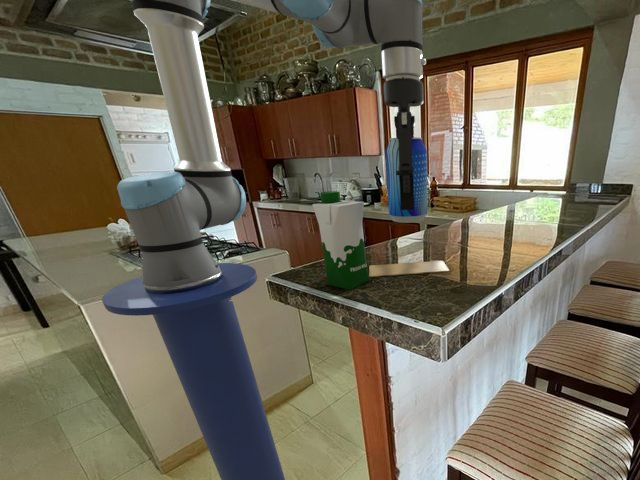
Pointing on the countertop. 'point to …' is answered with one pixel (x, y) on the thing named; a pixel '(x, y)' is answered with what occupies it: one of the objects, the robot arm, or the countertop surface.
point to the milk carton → (342, 240)
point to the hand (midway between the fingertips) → (407, 206)
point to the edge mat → (407, 268)
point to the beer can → (418, 182)
